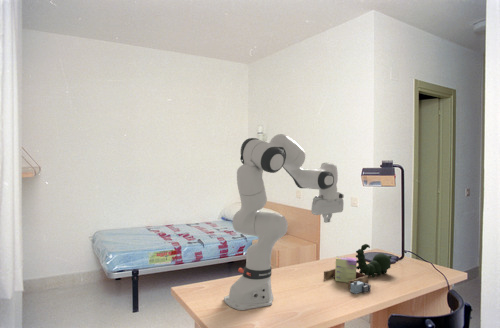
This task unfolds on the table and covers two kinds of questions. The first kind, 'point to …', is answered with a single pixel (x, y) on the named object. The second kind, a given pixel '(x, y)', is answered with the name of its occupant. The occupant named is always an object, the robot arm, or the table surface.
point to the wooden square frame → (359, 277)
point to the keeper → (365, 288)
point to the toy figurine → (372, 263)
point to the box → (345, 269)
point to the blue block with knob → (356, 287)
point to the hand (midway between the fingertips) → (327, 222)
